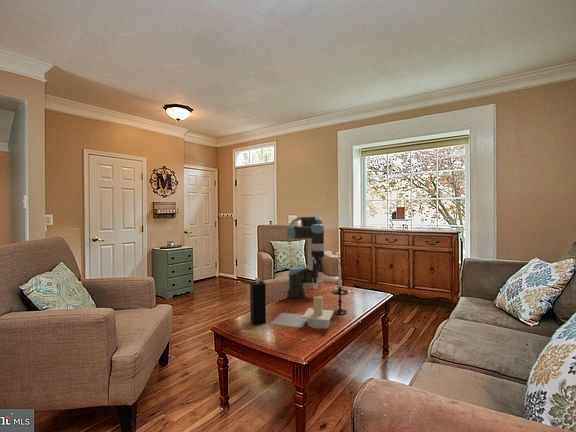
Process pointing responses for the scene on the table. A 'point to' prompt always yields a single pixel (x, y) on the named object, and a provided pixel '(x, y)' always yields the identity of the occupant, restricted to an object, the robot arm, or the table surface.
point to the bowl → (318, 323)
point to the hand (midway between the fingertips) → (318, 285)
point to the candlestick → (339, 292)
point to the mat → (289, 320)
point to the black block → (257, 302)
